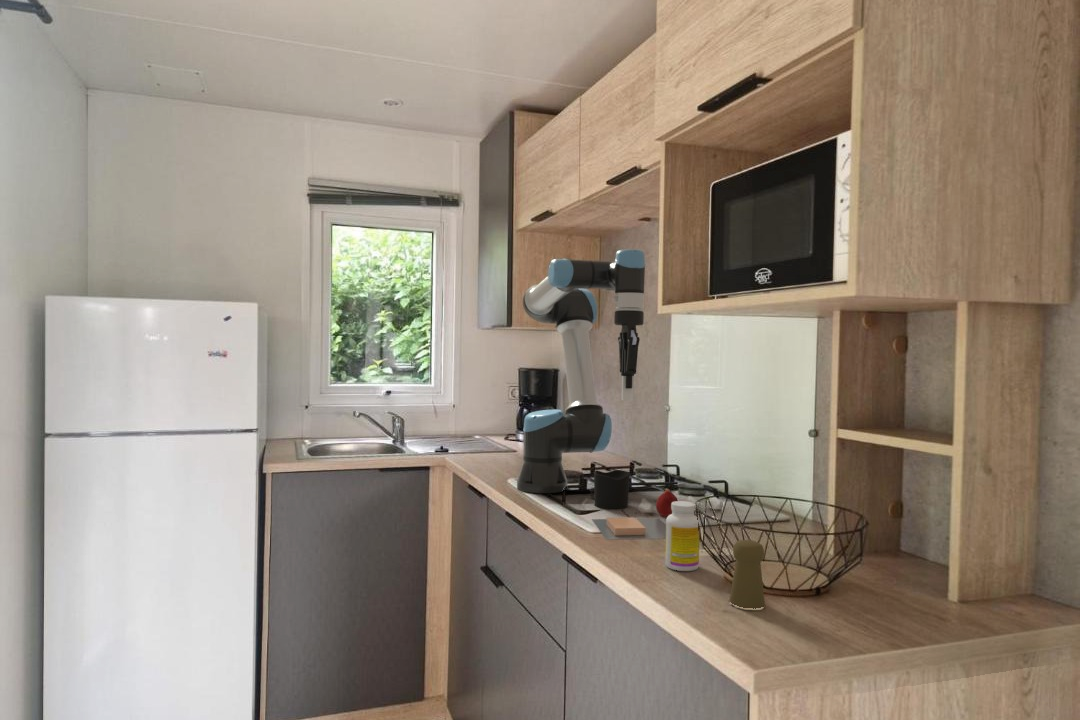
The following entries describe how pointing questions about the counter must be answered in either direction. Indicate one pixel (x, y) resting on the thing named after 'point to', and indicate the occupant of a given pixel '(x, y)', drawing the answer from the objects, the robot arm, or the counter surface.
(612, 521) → the tile
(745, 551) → the cork
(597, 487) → the pen holder
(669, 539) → the supplement bottle
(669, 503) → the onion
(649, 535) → the slate board
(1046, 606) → the counter surface
